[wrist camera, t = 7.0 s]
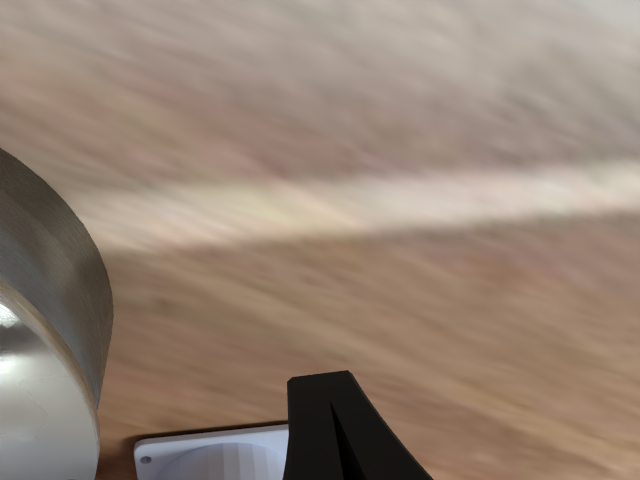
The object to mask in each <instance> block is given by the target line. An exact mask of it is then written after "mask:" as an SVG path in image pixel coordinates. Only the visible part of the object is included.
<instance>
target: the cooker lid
mask: <svg viewBox="0 0 640 480" xmlns="http://www.w3.org/2000/svg"><path fill="white" fill-rule="evenodd" d="M99 452H100V423H99V418H98V412H97V407H96V401H95V398H94V396H93V393H92V390H91V388H90V385H89V383H88V380H87V377H86V375H85V373H84V371H83V369H82V368H81V366H80V364H79V363H78V361H77V359H76V358H75V356H74V354H73V352H72V351H71V349H70V347H69V346H68V345H67V343H66V342H65V341H64V340H63V338H62V337H61V336H60V335H59V333H58V332H57V331H56V330H55V328H54V327H53V326H52V325H51V324H50V322H49V321H48V320H47V319H46V318H45V317H44V316H43V315H42V314H41V313H40V312H39V311H38V310H37V309H36V308H35V307H34V306H33V305H32V304H31V303H30V302H29V301H28V300H26V299H25V298H24V297H23V296H22V295H21V294H20V293H19V292H18V291H17V290H16V289H14V288H13V287H12V286H10V285H9V284H8V283H6V282H5V281H4V280H2V279H1V278H0V480H94V479H95V475H96V470H97V464H98V458H99Z"/></svg>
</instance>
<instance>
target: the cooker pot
mask: <svg viewBox="0 0 640 480" xmlns="http://www.w3.org/2000/svg"><path fill="white" fill-rule="evenodd" d="M0 278H1V279H2V280H4V281H5V282H6V283H8V284H9V285H10V286H12V287H13V288H14V289H16V290H17V291H18V292H19V293H20V294H21V295H22V296H23V297H24V298H25V299H26V300H28V301H29V302H30V303H31V304H32V305H33V306H34V307H35V308H36V309H37V310H38V311H39V312H40V313H41V314H42V315H43V316H44V317H45V318H46V319H47V320H48V321H49V322H50V324H51V325H52V326H53V327H54V328H55V330H56V331H57V332H58V333H59V335H60V336H61V337H62V338H63V340H64V341H65V342H66V343H67V345H68V346H69V347H70V349H71V351H72V352H73V354H74V356H75V358H76V359H77V361H78V363H79V364H80V366H81V368H82V369H83V371H84V373H85V375H86V377H87V380H88V383H89V385H90V388H91V390H92V393H93V396H94V398H95V401H96V407H97V410H98V404H99V399H100V394H101V388H102V383H103V378H104V372H105V367H106V362H107V356H108V351H109V346H110V340H111V334H112V325H113V316H114V315H113V299H112V291H111V287H110V283H109V278H108V274H107V270H106V268H105V266H104V263H103V261H102V258H101V256H100V253H99V251H98V248H97V247H96V245H95V243H94V242H93V240H92V238H91V237H90V235H89V233H88V231H87V230H86V228H85V226H84V225H83V224H82V222H81V221H80V220H79V218H78V217H77V216H76V215H75V213H74V212H73V211H72V209H71V208H70V207H69V206H68V204H67V203H66V202H65V201H64V200H63V199H62V198H61V197H60V196H59V195H58V194H57V193H56V192H55V191H54V190H53V189H52V188H51V187H50V186H49V185H48V184H47V183H46V182H45V181H44V180H43V179H42V178H41V177H39V176H38V175H37V174H35V173H34V172H33V171H32V170H30V169H29V168H28V167H27V166H25V165H24V164H23V163H22V162H20V161H19V160H18V159H17V158H15V157H13V156H12V155H10V154H9V153H7V152H6V151H4V150H2V149H1V148H0Z"/></svg>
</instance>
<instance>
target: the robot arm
mask: <svg viewBox="0 0 640 480" xmlns="http://www.w3.org/2000/svg"><path fill="white" fill-rule="evenodd" d="M287 395H288V424H285V425H276V426H266V427H256V428H247V429H237V430H227V431H218V432H208V433H198V434H189V435H179V436H169V437H160V438H150V439H143V440H140V441H138V442H136V444H135V446H134V459H135V466H136V472H137V479H138V480H433V478H432V477H431V476H430V475H429V474H428V473H427V472H426V471H425V470H424V469H423V467H422V466H421V465H420V464H419V463H418V462H417V461H416V460H415V458H414V457H413V456H412V455H411V454H410V452H409V451H408V450H407V449H406V448H405V446H404V445H403V444H402V443H401V441H400V440H399V439H398V438H397V437H396V435H395V434H394V433H393V432H392V430H391V429H390V428H389V427H388V425H387V424H386V423H385V421H384V420H383V419H382V417H381V416H380V415H379V413H378V412H377V410H376V409H375V408H374V406H373V405H372V404H371V402H370V401H369V399H368V398H367V396H366V395H365V393H364V392H363V390H362V389H361V387H360V386H359V384H358V383H357V381H356V379H355V378H354V376H353V374H352V373H350V372H349V371H348V370H346V371H338V372H330V373H322V374H314V375H306V376H299V377H292V378H291V379H290V380H289V381H288V382H287ZM145 456H149V457H145Z"/></svg>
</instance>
